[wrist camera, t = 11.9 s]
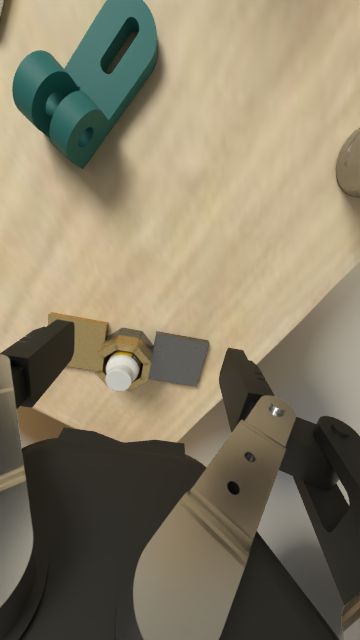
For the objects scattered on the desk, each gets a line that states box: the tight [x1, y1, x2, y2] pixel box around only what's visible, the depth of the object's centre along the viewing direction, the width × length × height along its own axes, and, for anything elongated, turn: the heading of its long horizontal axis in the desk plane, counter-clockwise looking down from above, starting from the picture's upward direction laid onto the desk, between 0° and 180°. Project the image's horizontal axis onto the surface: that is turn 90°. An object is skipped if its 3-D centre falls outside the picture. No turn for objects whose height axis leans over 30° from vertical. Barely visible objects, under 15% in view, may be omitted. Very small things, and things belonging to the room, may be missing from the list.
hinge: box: [48, 313, 209, 391], centre depth 41 cm, size 29×10×6 cm, turn 78°
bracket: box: [13, 0, 158, 169], centre depth 26 cm, size 18×7×8 cm, turn 135°
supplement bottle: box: [105, 350, 141, 391], centre depth 39 cm, size 5×5×10 cm
